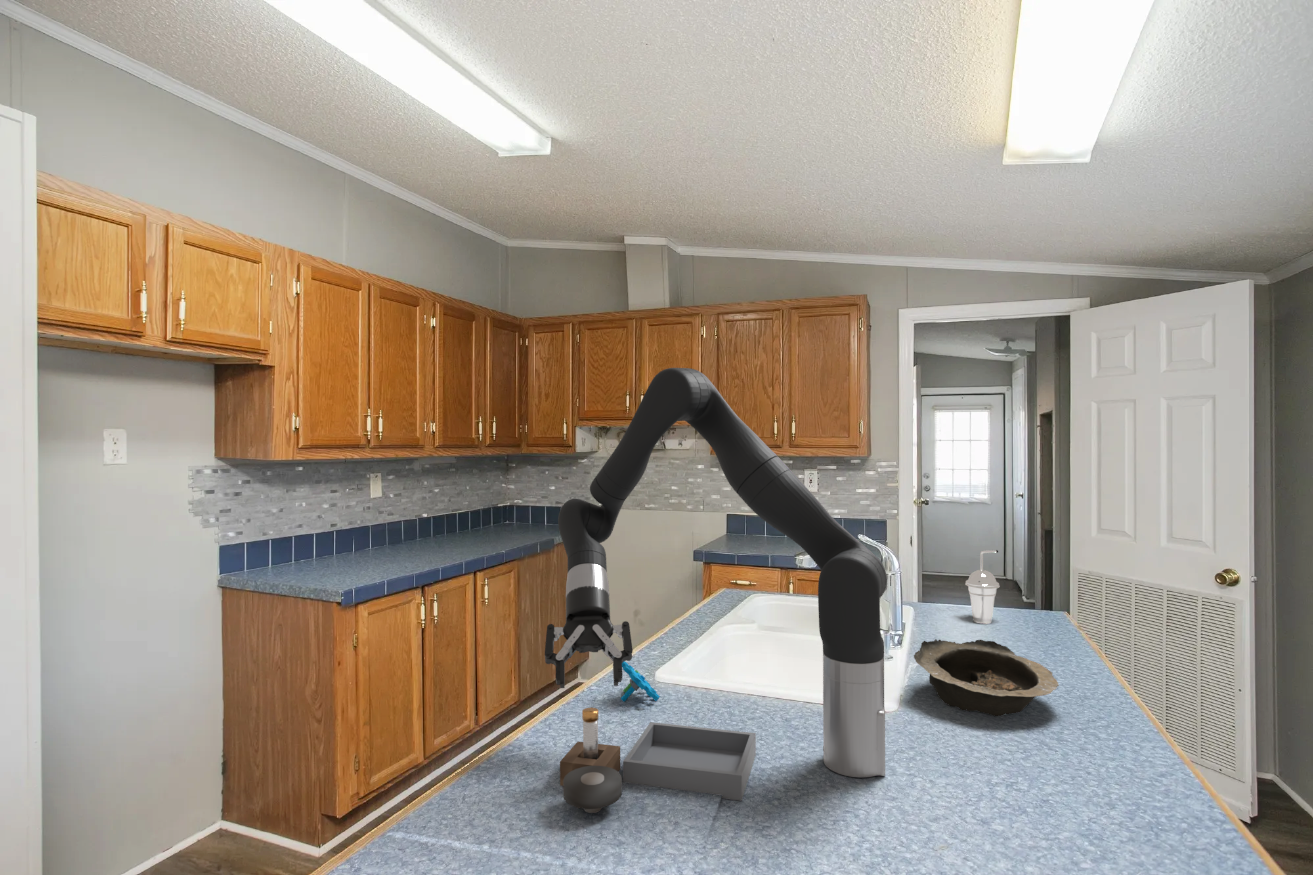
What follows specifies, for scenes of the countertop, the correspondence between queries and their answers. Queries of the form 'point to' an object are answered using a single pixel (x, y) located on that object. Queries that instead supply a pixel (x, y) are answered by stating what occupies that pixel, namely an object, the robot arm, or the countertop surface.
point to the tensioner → (591, 778)
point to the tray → (692, 759)
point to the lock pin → (590, 733)
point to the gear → (637, 683)
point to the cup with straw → (982, 592)
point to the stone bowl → (983, 676)
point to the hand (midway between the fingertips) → (589, 684)
